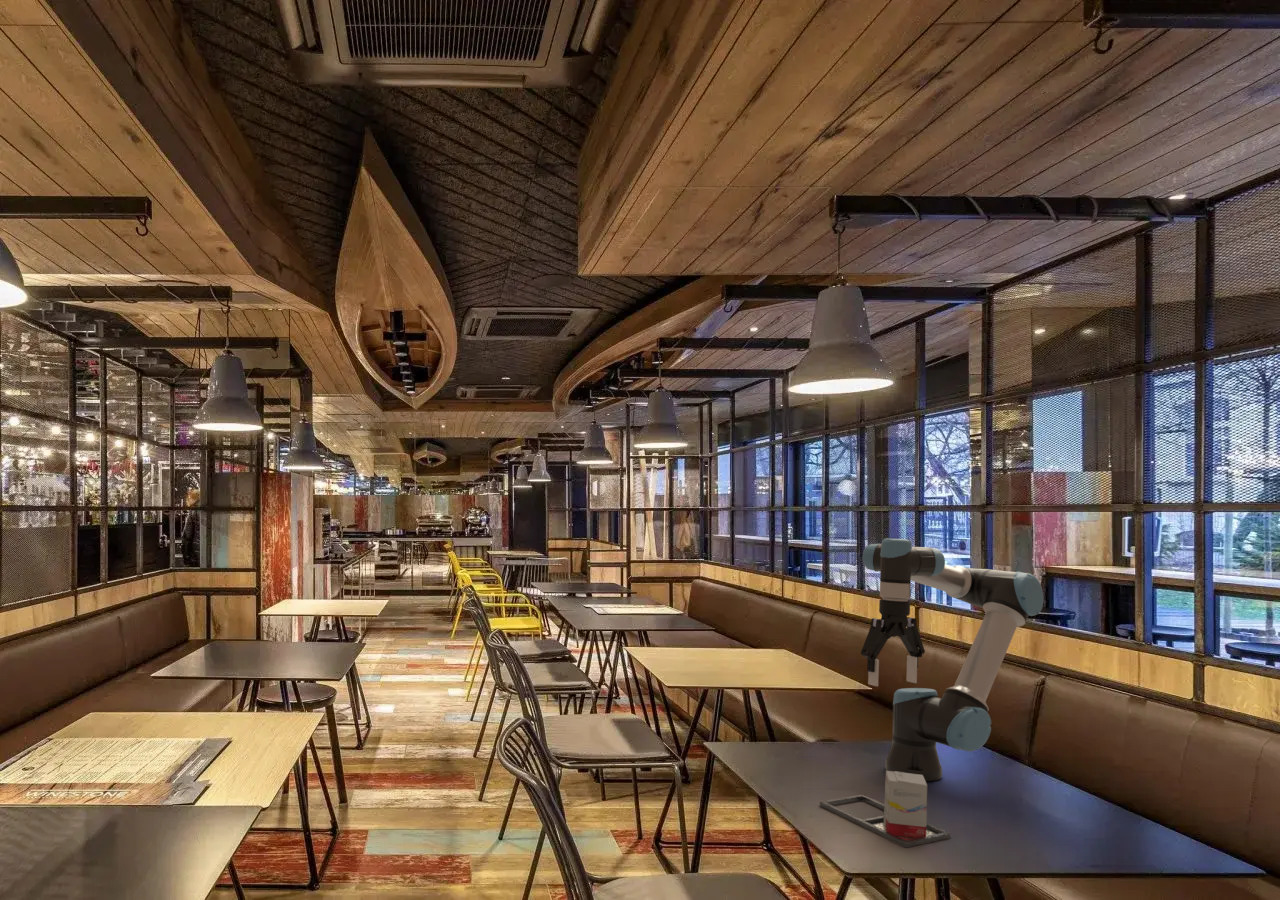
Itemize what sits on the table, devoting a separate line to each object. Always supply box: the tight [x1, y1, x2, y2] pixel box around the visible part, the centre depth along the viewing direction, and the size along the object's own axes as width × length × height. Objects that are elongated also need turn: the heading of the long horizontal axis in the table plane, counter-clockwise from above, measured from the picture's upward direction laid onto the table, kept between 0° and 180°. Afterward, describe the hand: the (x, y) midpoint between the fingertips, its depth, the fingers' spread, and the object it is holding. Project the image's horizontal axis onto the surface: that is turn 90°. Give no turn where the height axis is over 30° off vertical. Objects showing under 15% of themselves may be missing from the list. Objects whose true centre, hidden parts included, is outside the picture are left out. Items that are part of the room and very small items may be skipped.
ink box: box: [883, 770, 928, 838], centre depth 186 cm, size 9×9×12 cm
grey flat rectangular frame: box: [819, 794, 951, 849], centre depth 191 cm, size 14×27×1 cm, turn 30°
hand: (892, 683), depth 208 cm, fingers open, 13 cm apart
